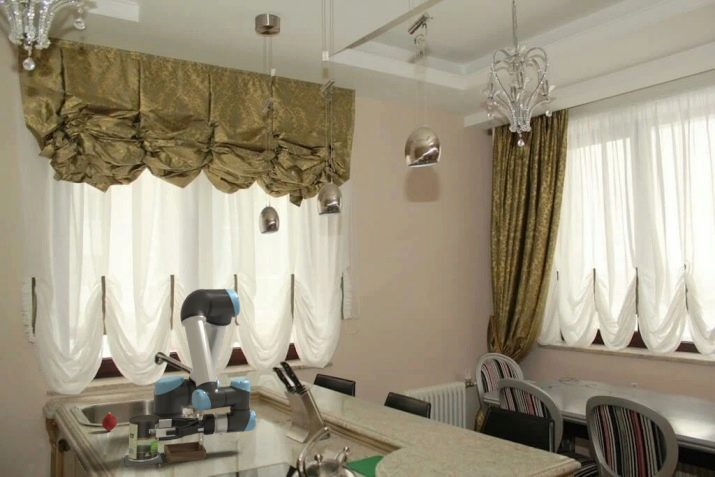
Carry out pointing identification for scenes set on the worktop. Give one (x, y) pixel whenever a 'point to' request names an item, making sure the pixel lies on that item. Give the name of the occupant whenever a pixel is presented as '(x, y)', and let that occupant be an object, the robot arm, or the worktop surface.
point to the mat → (131, 463)
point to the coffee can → (143, 438)
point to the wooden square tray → (184, 455)
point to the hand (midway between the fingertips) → (154, 428)
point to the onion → (109, 422)
